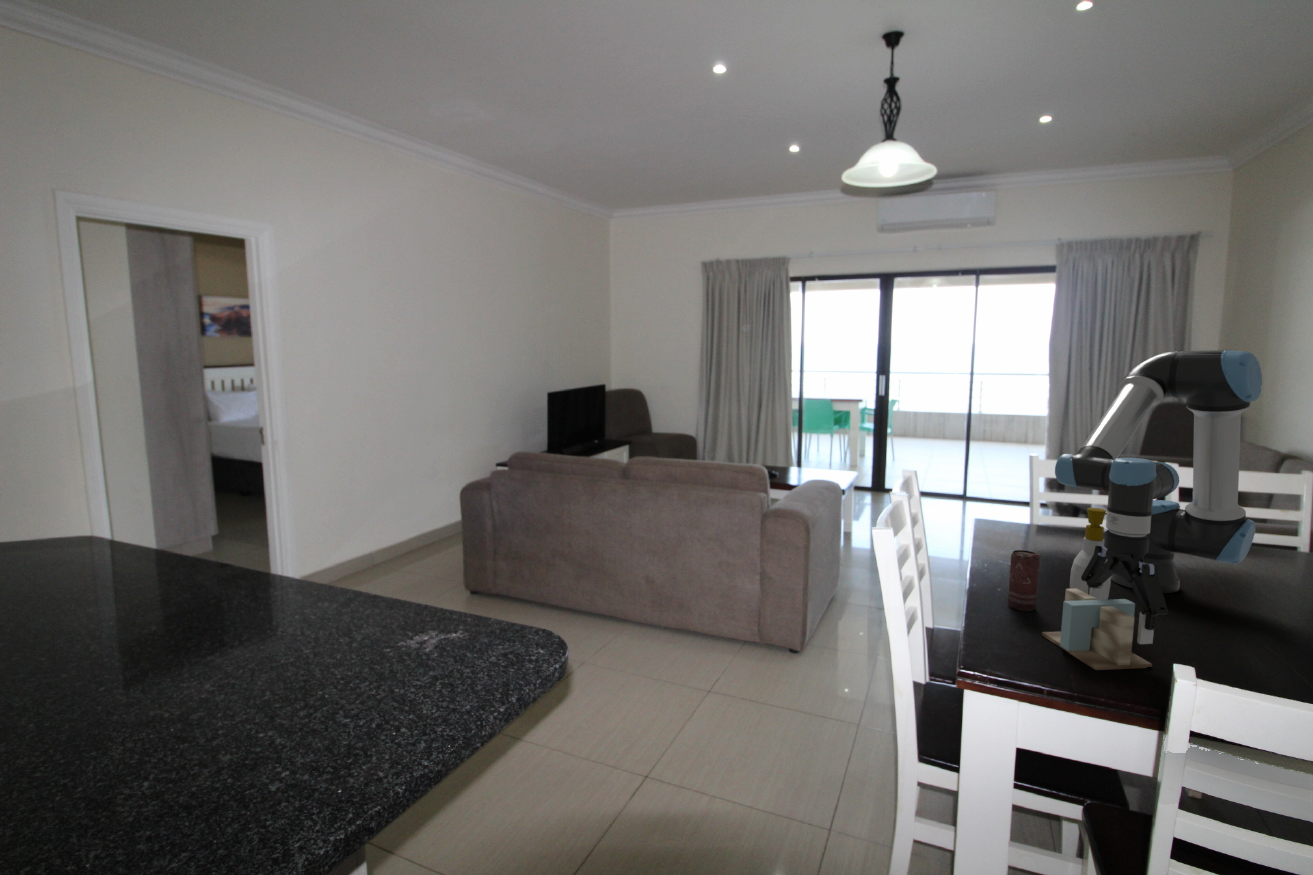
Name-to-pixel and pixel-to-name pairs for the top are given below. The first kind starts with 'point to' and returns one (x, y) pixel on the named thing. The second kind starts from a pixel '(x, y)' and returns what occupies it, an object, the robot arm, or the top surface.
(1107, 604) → the pale blue tunnel block
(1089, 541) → the soap bottle
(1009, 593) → the can
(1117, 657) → the birch jig
